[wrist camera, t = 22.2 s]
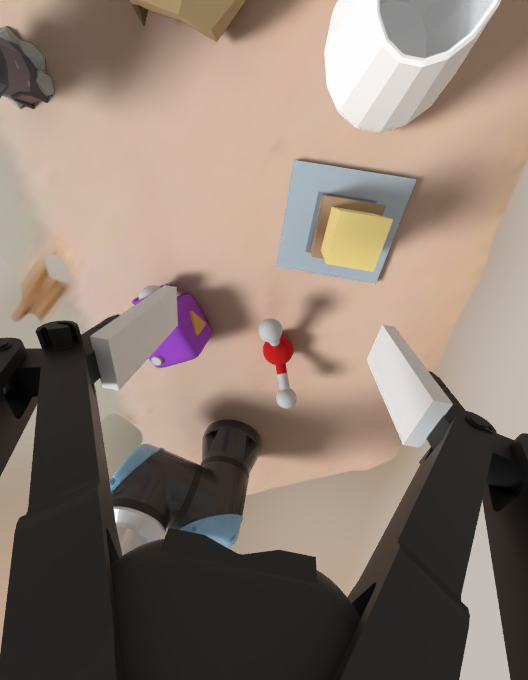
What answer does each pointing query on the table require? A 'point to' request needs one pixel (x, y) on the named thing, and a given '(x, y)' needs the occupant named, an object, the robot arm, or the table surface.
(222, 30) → the low-poly potato
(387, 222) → the mustard block
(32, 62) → the model tower
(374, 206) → the walnut block
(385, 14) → the white faceted vase
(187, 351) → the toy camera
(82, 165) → the table surface
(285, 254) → the plate
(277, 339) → the molecular model
